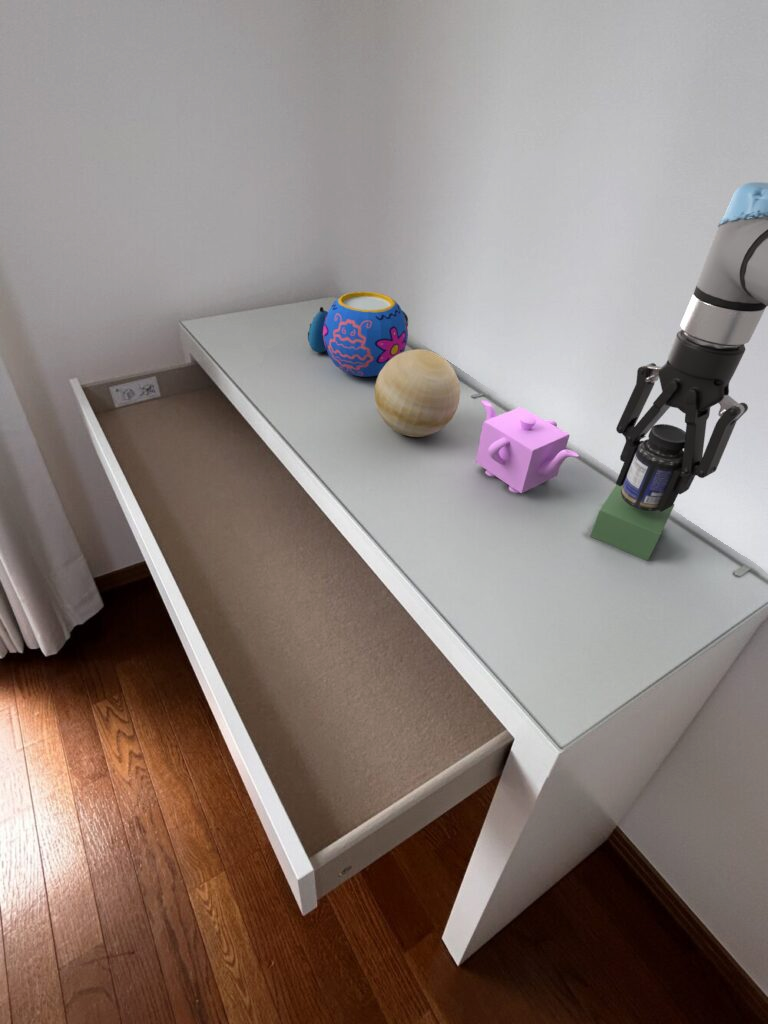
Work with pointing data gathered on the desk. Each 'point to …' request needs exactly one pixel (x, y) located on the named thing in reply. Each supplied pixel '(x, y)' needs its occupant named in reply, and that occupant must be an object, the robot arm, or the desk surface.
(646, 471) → the pill bottle
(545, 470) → the teapot
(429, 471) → the desk surface
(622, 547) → the block
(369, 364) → the ceramic pot
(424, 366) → the decorative ball
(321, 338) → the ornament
